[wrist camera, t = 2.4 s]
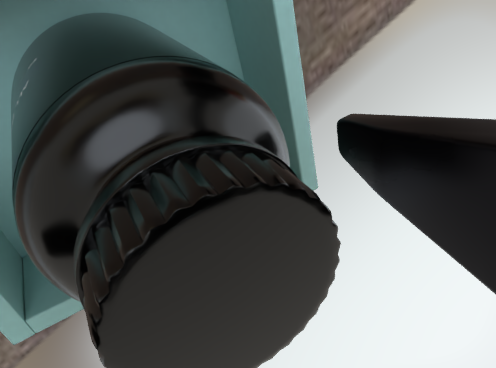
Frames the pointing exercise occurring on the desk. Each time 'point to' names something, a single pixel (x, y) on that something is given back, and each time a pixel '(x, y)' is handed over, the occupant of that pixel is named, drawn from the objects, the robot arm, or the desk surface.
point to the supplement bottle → (163, 199)
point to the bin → (192, 36)
